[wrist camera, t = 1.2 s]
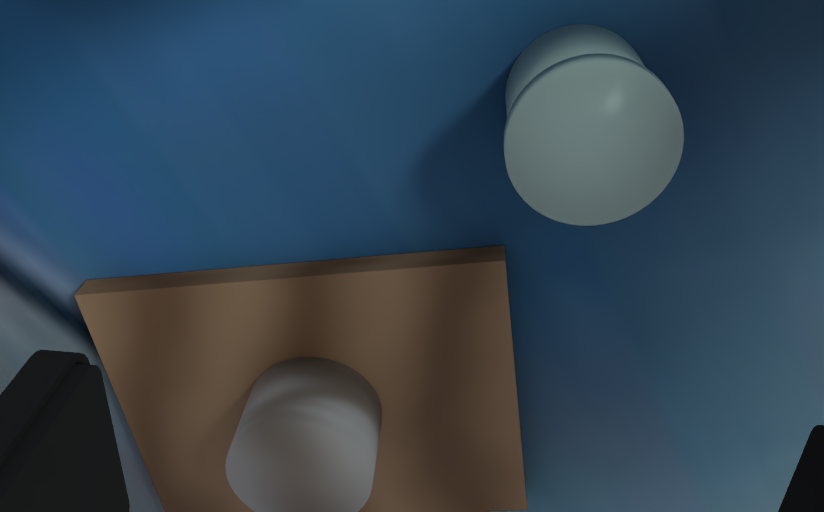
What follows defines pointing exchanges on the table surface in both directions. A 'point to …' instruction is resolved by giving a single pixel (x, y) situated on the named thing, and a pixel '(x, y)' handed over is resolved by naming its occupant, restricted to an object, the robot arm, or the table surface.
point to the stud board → (332, 317)
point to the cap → (588, 127)
